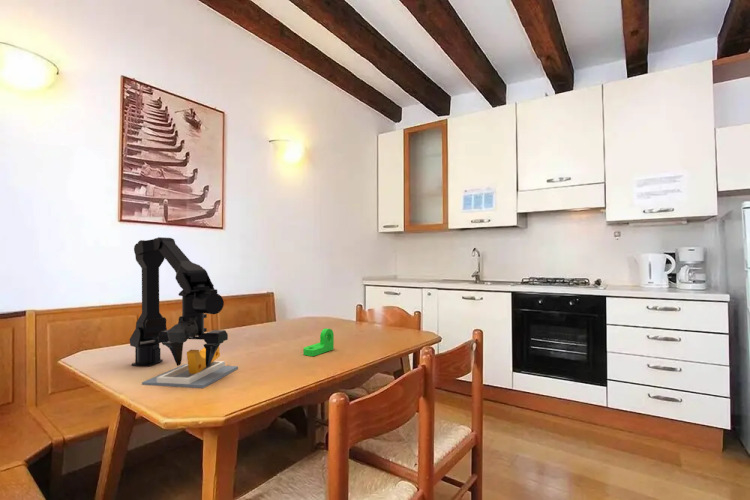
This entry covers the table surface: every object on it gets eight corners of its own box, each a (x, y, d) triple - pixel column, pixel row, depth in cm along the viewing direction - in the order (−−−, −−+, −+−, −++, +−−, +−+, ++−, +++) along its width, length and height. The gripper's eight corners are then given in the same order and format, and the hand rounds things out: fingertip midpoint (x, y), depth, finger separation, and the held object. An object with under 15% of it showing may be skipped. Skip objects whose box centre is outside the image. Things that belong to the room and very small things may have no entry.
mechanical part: (320, 347, 149) (320, 326, 149) (333, 349, 146) (333, 327, 146) (299, 354, 138) (299, 331, 138) (313, 356, 135) (312, 333, 135)
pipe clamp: (207, 355, 125) (205, 336, 124) (220, 356, 124) (218, 336, 123) (183, 373, 113) (181, 352, 112) (197, 373, 112) (194, 352, 111)
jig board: (141, 385, 105) (142, 377, 105) (184, 366, 123) (184, 359, 123) (203, 388, 102) (203, 379, 102) (237, 368, 120) (237, 361, 120)
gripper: (143, 315, 106) (143, 373, 106) (206, 316, 103) (206, 375, 103) (171, 310, 117) (171, 362, 117) (228, 310, 114) (228, 364, 114)
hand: (193, 366), depth 112 cm, fingers open, 9 cm apart
